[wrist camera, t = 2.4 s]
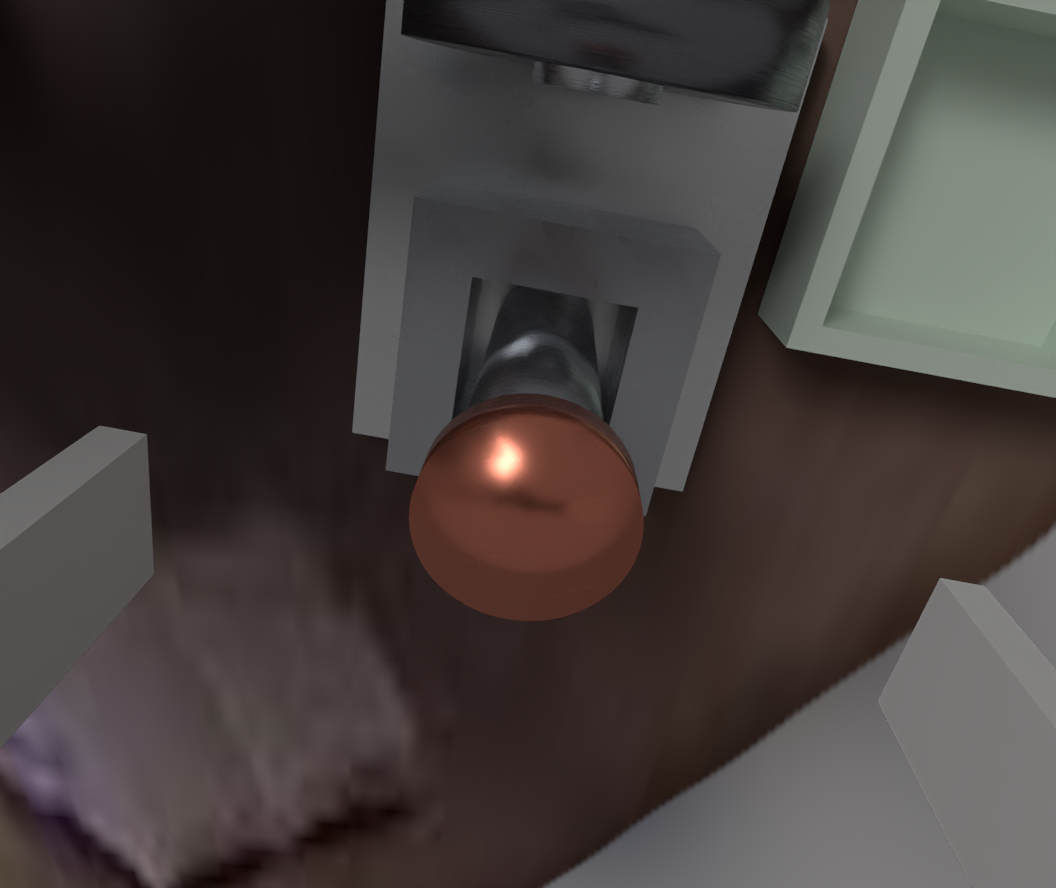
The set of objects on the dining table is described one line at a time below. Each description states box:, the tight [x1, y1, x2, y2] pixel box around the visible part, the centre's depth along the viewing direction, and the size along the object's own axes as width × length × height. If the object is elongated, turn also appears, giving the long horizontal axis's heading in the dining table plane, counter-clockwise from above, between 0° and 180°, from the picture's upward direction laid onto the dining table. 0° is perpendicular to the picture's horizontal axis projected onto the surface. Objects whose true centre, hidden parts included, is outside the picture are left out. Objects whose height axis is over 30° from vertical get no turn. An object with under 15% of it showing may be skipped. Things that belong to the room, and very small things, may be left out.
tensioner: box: [352, 0, 830, 516], centre depth 20 cm, size 12×15×10 cm
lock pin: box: [409, 286, 644, 621], centre depth 19 cm, size 4×4×12 cm
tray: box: [758, 0, 1056, 398], centre depth 21 cm, size 10×10×4 cm
